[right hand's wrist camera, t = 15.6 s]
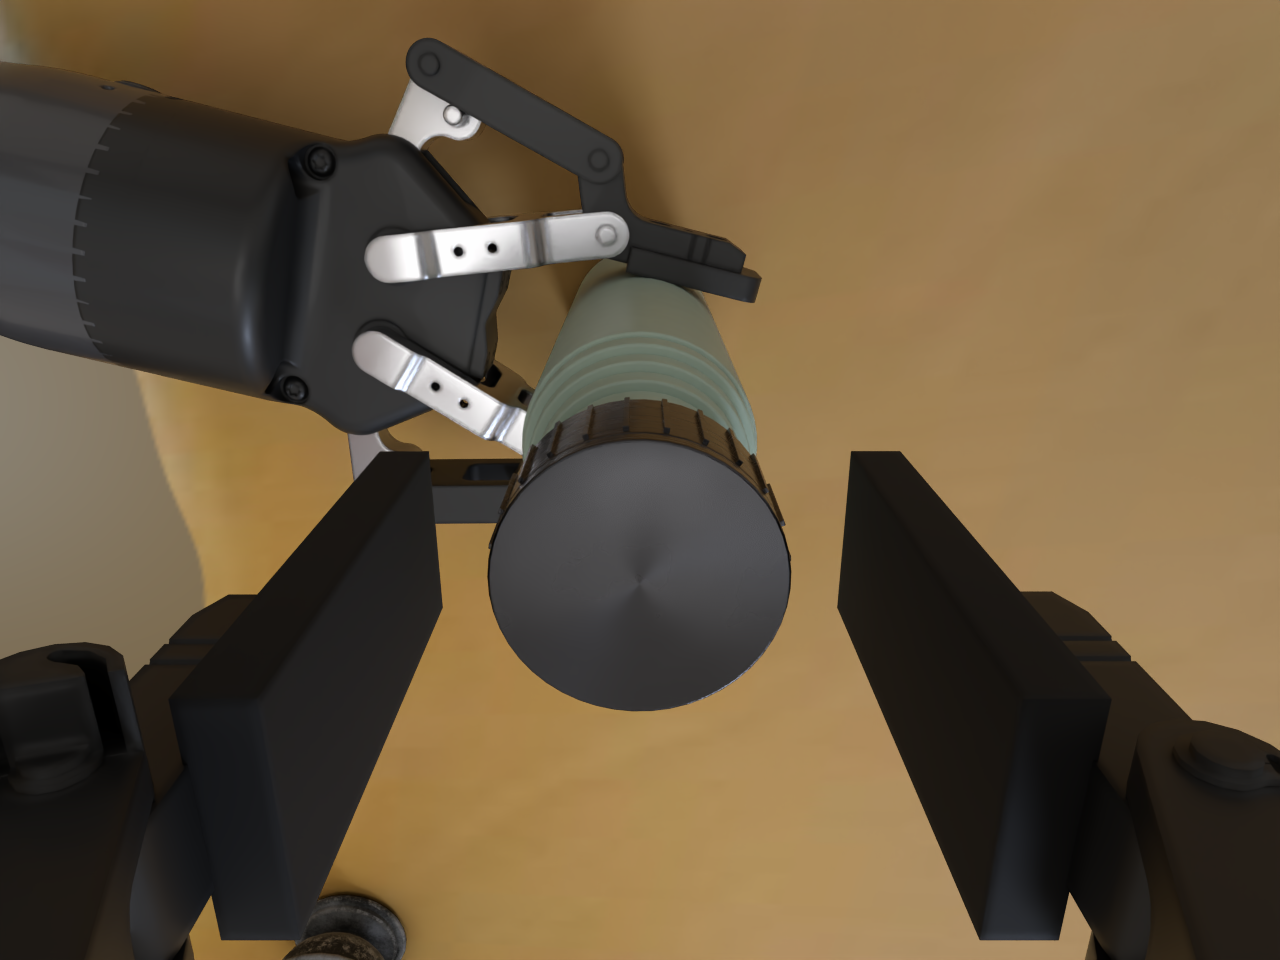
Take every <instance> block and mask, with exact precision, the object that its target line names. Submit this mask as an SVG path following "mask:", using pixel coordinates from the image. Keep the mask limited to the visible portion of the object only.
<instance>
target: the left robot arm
mask: <svg viewBox="0 0 1280 960" xmlns="http://www.w3.org/2000/svg"><path fill="white" fill-rule="evenodd" d="M406 68H407V72H408V74H409V76H410V81H409V83H408V86H407V88H406V91H405V93H404V95H403V98H402V100H401V103H400V105H399V108H398V110H397V113H396V115H395V118H394V120H393V123H392V125H391V127H390V130H389V132H388V134H376V135H372V136H369V137H366V138H363V139H359V140H353V141H346V140H341V139H336V138H332V137H328V136H324V135H320V134H316V133H312V132H308V131H304V130H300V129H296V128H293V127H289V126H285V125H281V124H277V123H273V122H269V121H265V120H261V119H257V118H253V117H249V116H245V115H242V114H238V113H234V112H230V111H226V110H222V109H218V108H214V107H210V106H207V105H203V104H199V103H195V102H191V101H187V100H183V99H179V98H175V97H171V96H167V95H163V94H161V93H160V92H158V91H156V90H154V89H151V88H149V87H146V86H143V85H140V84H137V83H134V82H129V81H115V82H113V81H109V80H105V79H101V78H97V77H93V76H90V75H86V74H82V73H77V72H73V71H68V70H63V69H58V68H51V67H44V66H36V65H26V64H16V63H8V62H1V61H0V335H1V336H4V337H7V338H10V339H13V340H16V341H19V342H22V343H26V344H29V345H33V346H37V347H41V348H44V349H48V350H53V351H57V352H62V353H66V354H70V355H74V356H79V357H83V358H88V359H92V360H96V361H100V362H105V363H109V364H113V365H118V366H122V367H126V368H131V369H136V370H140V371H144V372H149V373H153V374H157V375H161V376H165V377H170V378H174V379H178V380H183V381H187V382H191V383H196V384H200V385H204V386H209V387H213V388H217V389H222V390H226V391H231V392H235V393H239V394H244V395H248V396H252V397H257V398H261V399H265V400H270V401H276V402H282V403H288V404H295V405H299V406H303V407H306V408H308V409H310V410H312V411H314V412H316V413H317V414H319V415H320V416H322V417H323V418H325V419H326V420H327V421H328V422H329V423H331V424H332V425H333V426H334V427H336V428H337V429H339V430H341V431H343V432H346V433H348V440H349V448H350V455H351V463H352V470H353V478H354V481H355V480H356V479H357V477H358V476H359V475H360V474H361V473H362V472H363V470H364V469H365V468H366V467H367V466H368V465H369V463H370V462H371V461H372V460H373V459H374V458H375V456H376V455H377V454H378V453H379V452H380V451H422V450H421V449H420V448H419V447H418V446H416V445H414V444H410V443H403V442H400V441H398V440H396V439H395V438H394V437H392V436H391V434H390V433H389V431H388V429H387V428H389V427H391V426H394V425H396V424H399V423H401V422H404V421H406V420H409V419H411V418H414V417H416V416H419V415H421V414H423V413H426V412H428V411H431V410H433V409H434V410H436V411H437V412H439V413H441V414H442V415H444V416H446V417H447V418H449V419H451V420H452V421H454V422H456V423H457V424H459V425H461V426H462V427H464V428H466V429H467V430H469V431H471V432H472V433H474V434H476V435H477V436H479V437H481V438H483V439H486V440H489V441H498V442H500V443H502V444H504V445H506V446H507V447H509V448H511V449H512V450H514V451H516V452H517V453H519V454H521V455H522V456H523V452H522V432H523V426H524V420H525V416H526V412H527V409H528V406H529V403H530V401H531V398H532V396H533V394H534V391H535V390H534V389H533V388H531V387H530V386H529V385H528V384H527V383H526V381H525V380H524V379H523V378H522V377H521V376H520V375H518V374H517V373H515V372H514V371H512V370H511V369H509V368H507V367H506V366H504V365H502V364H501V363H499V362H498V361H496V360H494V357H495V352H496V347H497V342H498V332H497V319H496V311H497V309H498V307H499V305H500V303H501V301H502V298H503V296H504V294H505V292H506V290H507V288H508V284H509V279H510V274H511V270H516V269H526V268H533V267H539V266H543V265H547V264H554V263H564V262H574V261H584V260H594V259H604V258H606V259H610V260H614V261H618V262H622V263H626V264H627V266H626V272H627V273H631V274H635V275H639V276H643V277H647V278H652V279H656V280H661V281H665V282H667V283H671V284H675V285H679V286H683V287H687V288H691V289H695V290H699V291H703V292H707V293H711V294H715V295H719V296H723V297H727V298H731V299H735V300H739V301H744V302H749V303H755V300H756V296H757V293H758V289H759V286H760V282H761V279H762V278H761V277H760V276H759V275H758V274H757V272H755V271H753V270H750V269H747V268H744V267H743V265H744V261H745V257H746V254H745V253H744V252H743V251H742V250H741V249H739V248H738V247H737V246H735V245H734V244H733V243H731V242H730V241H729V240H727V239H726V238H723V237H719V236H715V235H711V234H707V233H703V232H699V231H695V230H691V229H687V228H684V227H680V226H676V225H672V224H668V223H664V222H660V221H656V220H652V219H648V218H645V217H643V216H641V215H639V214H638V213H636V212H635V211H634V210H633V208H632V207H631V206H630V204H629V202H628V199H627V195H626V187H625V177H624V168H623V163H624V156H623V152H622V149H621V147H620V146H619V144H618V143H617V142H616V141H615V140H613V139H612V138H610V137H608V136H606V135H605V134H603V133H601V132H599V131H598V130H596V129H594V128H592V127H591V126H589V125H587V124H585V123H584V122H582V121H580V120H578V119H577V118H575V117H573V116H571V115H570V114H568V113H566V112H564V111H563V110H561V109H559V108H557V107H556V106H554V105H552V104H550V103H549V102H547V101H545V100H543V99H542V98H540V97H538V96H536V95H535V94H533V93H531V92H529V91H528V90H526V89H524V88H522V87H521V86H519V85H517V84H515V83H514V82H512V81H510V80H508V79H507V78H505V77H503V76H501V75H500V74H498V73H496V72H494V71H493V70H491V69H489V68H487V67H486V66H484V65H482V64H480V63H479V62H477V61H475V60H473V59H472V58H470V57H468V56H466V55H465V54H463V53H461V52H459V51H457V50H456V49H454V48H452V47H450V46H448V45H446V44H444V43H442V42H440V41H438V40H436V39H433V38H423V39H420V40H418V41H416V42H415V43H413V45H412V46H411V47H410V48H409V50H408V53H407V56H406ZM486 125H488V126H490V127H492V128H493V129H495V130H497V131H499V132H500V133H502V134H504V135H506V136H508V137H509V138H511V139H513V140H515V141H517V142H518V143H520V144H522V145H524V146H526V147H527V148H529V149H531V150H533V151H534V152H536V153H538V154H540V155H542V156H543V157H545V158H547V159H549V160H551V161H552V162H554V163H556V164H558V165H559V166H561V167H563V168H565V169H567V170H568V171H570V172H572V173H574V174H576V175H577V176H578V181H579V189H580V197H581V205H582V209H572V210H563V211H552V212H533V213H524V214H514V215H504V216H494V217H485V215H484V214H483V213H482V212H481V211H480V210H479V209H478V207H477V206H476V205H475V204H474V203H473V202H472V201H471V199H470V198H469V197H468V196H467V195H466V194H465V193H464V191H463V190H462V189H461V188H460V187H459V186H458V184H457V183H456V182H455V181H454V180H453V179H452V178H451V176H450V175H449V174H448V173H447V172H446V171H445V170H444V168H443V167H442V166H441V165H440V164H439V163H438V162H437V160H436V159H435V158H434V157H433V156H432V155H431V153H430V152H429V151H428V148H429V146H430V145H431V143H432V142H433V141H434V140H436V139H438V138H440V137H444V136H445V137H448V138H451V139H454V140H472V139H475V138H476V137H478V136H479V135H480V134H481V133H482V132H483V130H484V128H485V126H486ZM484 376H485V378H484ZM463 400H466V401H467V402H468V403H465V402H464V401H463ZM522 464H523V459H430V470H431V481H432V492H433V504H434V515H435V524H451V523H497V522H498V519H499V516H500V514H498V511H499V508H500V506H501V503H502V501H503V498H504V495H505V493H506V490H507V488H508V485H509V483H510V480H511V477H512V475H513V473H515V474H517V473H518V472H519V470H520V468H521V466H522Z"/></svg>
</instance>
